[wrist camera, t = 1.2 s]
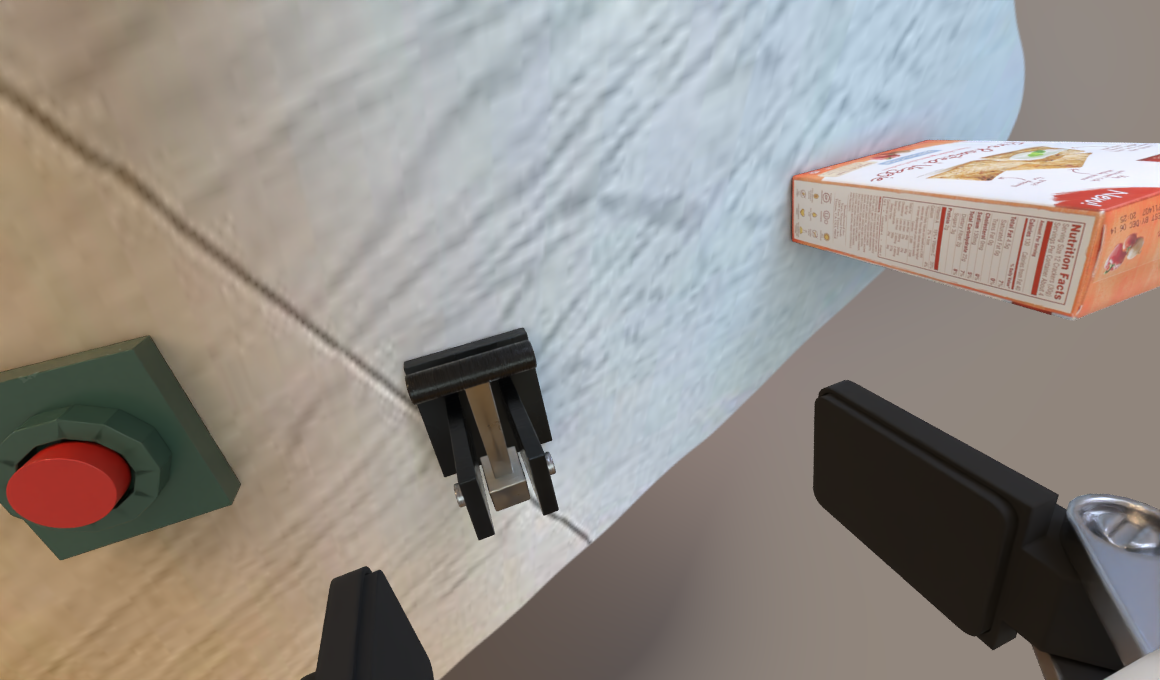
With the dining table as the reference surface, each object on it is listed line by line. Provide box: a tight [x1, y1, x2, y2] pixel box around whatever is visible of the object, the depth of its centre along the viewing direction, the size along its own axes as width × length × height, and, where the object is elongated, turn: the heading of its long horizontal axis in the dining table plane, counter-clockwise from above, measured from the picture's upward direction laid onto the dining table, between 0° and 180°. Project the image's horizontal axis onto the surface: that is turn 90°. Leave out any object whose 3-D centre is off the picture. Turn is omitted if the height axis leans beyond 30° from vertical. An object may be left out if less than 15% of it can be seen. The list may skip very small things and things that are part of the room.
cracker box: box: [792, 140, 1160, 320], centre depth 34 cm, size 14×6×21 cm, turn 101°
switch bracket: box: [404, 328, 559, 540], centre depth 34 cm, size 10×9×12 cm
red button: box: [6, 441, 131, 528], centre depth 28 cm, size 5×5×2 cm
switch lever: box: [405, 340, 537, 511], centre depth 26 cm, size 13×6×2 cm, turn 10°
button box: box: [0, 336, 241, 560], centre depth 30 cm, size 12×10×4 cm
